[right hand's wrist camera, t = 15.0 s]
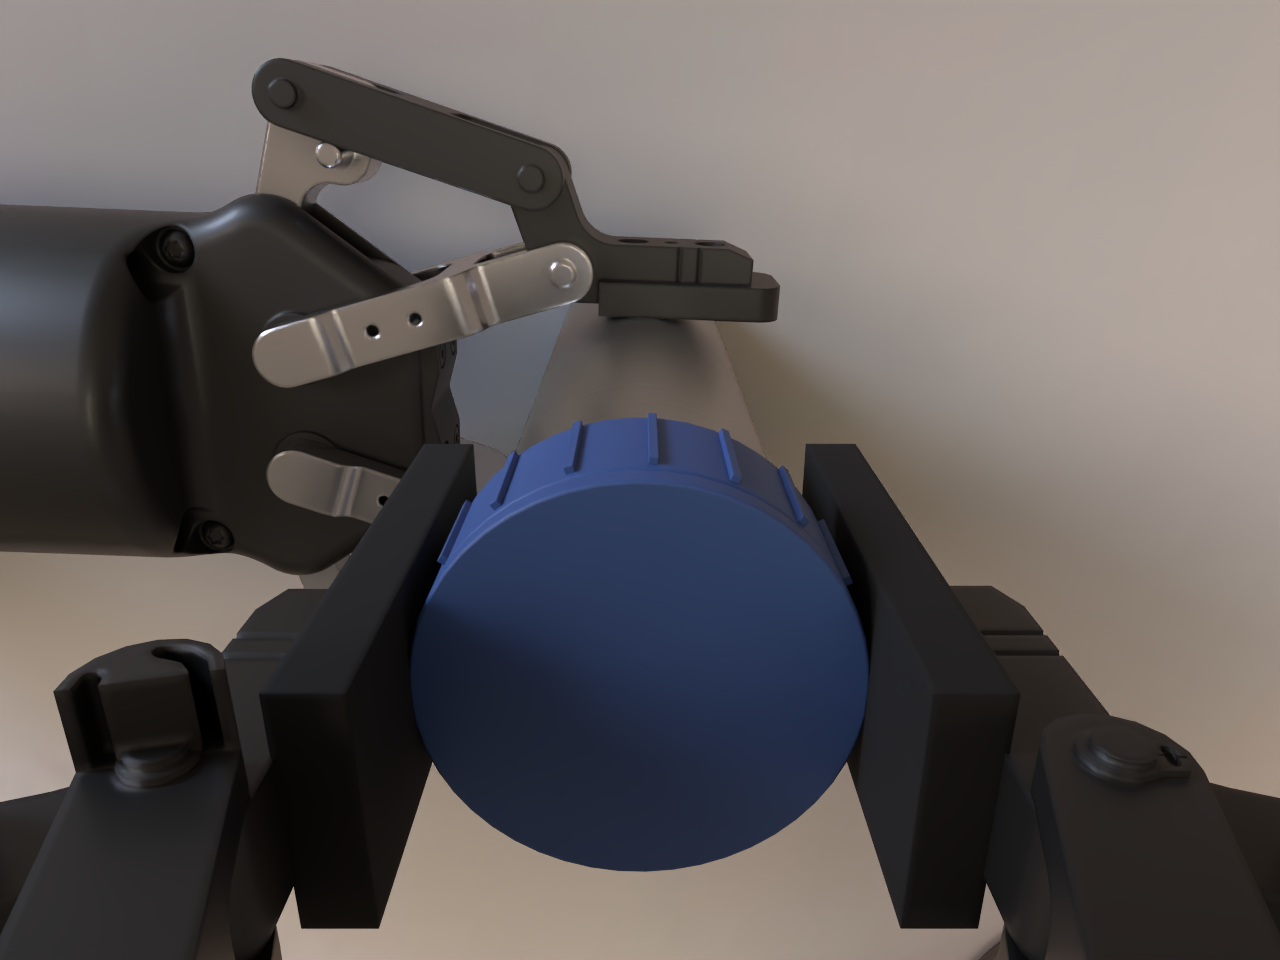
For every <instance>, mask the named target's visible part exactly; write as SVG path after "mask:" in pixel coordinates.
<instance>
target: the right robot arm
mask: <svg viewBox="0 0 1280 960" xmlns="http://www.w3.org/2000/svg"><path fill="white" fill-rule="evenodd" d="M476 496H477V486H476V472H475V458H474V444H424V445H423V447H422V448H421V450H420V451H419V453H418V454H417V456H416V457H415V459H414V460H413V462H412V463H411V465H410V466H409V468H408V469H407V471H406V472H405V474H404V475H403V477H402V478H401V480H400V481H399V483H398V484H397V486H396V487H395V489H394V490H393V492H392V493H391V495H390V496H389V498H388V499H387V501H386V502H385V504H384V505H383V507H382V508H381V510H380V512H379V513H378V515H377V516H376V518H375V519H374V521H373V522H372V524H371V525H370V527H369V528H368V530H367V531H366V533H365V534H364V536H363V537H362V539H361V540H360V542H359V543H358V545H357V546H356V548H355V549H354V551H353V552H352V554H351V555H350V557H349V558H348V560H347V561H346V563H345V564H344V566H343V567H342V569H341V570H340V572H339V573H338V575H337V576H336V578H335V579H334V581H333V582H332V584H331V585H330V587H329V588H328V589H288V590H286V591H284V592H283V593H281V594H280V595H278V596H276V597H275V598H273V599H272V600H270V601H269V602H267V603H265V604H264V605H262V606H261V607H259V608H258V609H256V610H255V611H254V612H253V614H252V615H251V616H250V618H249V619H248V620H247V621H246V623H245V624H244V625H243V627H242V628H241V629H240V630H239V632H238V633H237V638H236V639H232V641H231V642H230V643H229V644H228V646H227V647H226V648H225V650H224V651H223V652H222V653H221V652H220V651H218V650H217V649H216V648H214V647H213V646H212V645H211V644H208V643H204V642H199V641H194V640H190V639H169V640H155V641H150V642H145V643H141V644H136V645H131V646H126V647H123V648H121V649H118V650H116V651H113V652H110V653H108V654H105V655H103V656H100V657H97V658H95V659H93V660H92V661H90V662H88V663H87V664H85V665H83V666H82V667H80V668H79V669H77V670H75V671H74V672H72V673H70V674H69V675H68V676H67V677H66V678H65V679H64V681H63V682H62V683H61V684H60V685H59V686H58V687H57V688H56V689H55V690H54V691H53V692H54V696H55V699H56V703H57V706H58V710H59V713H60V717H61V721H62V724H63V728H64V731H65V735H66V738H67V742H68V746H69V749H70V753H71V756H72V760H73V763H74V767H75V771H76V774H75V776H74V778H73V780H72V782H71V784H70V787H67V788H63V789H60V790H56V791H52V792H48V793H43V794H38V795H33V796H28V797H23V798H19V799H14V800H9V801H4V802H0V960H282V956H281V949H280V942H279V937H278V932H277V927H276V924H277V922H278V919H279V917H280V915H281V913H282V911H283V908H284V906H285V904H286V902H287V899H288V897H289V895H290V893H291V891H292V888H293V886H294V890H295V896H296V901H297V907H298V912H299V918H300V923H301V929H379V926H380V923H381V920H382V917H383V914H384V911H385V908H386V905H387V901H388V898H389V895H390V892H391V889H392V886H393V883H394V880H395V877H396V873H397V870H398V867H399V864H400V861H401V858H402V855H403V852H404V849H405V846H406V842H407V839H408V836H409V833H410V830H411V827H412V824H413V821H414V818H415V815H416V811H417V808H418V805H419V802H420V799H421V796H422V793H423V790H424V787H425V783H426V780H427V777H428V774H429V771H430V768H431V765H432V762H433V761H432V759H431V757H430V756H429V754H428V752H427V750H426V749H425V746H424V743H423V741H422V738H421V736H420V733H419V730H418V728H417V725H416V721H415V716H414V708H413V700H412V690H411V681H410V653H411V645H412V641H413V637H414V633H415V629H416V625H417V619H418V617H419V615H420V612H421V610H422V608H423V606H424V603H425V601H426V599H427V597H428V594H429V592H430V590H431V588H432V585H433V583H434V581H435V579H436V576H437V574H438V572H439V570H440V567H441V565H442V564H441V563H439V562H438V561H437V560H438V558H439V556H440V554H441V552H442V550H443V547H444V545H445V543H446V541H447V539H448V536H449V534H450V532H451V530H452V528H453V526H454V523H455V521H456V519H457V517H458V515H459V513H460V510H461V508H462V506H463V504H464V503H465V501H466V500H468V501H470V502H471V503H472V502H473V501H474V499H475V497H476ZM802 496H803V498H804V499H805V501H806V502H807V504H808V505H809V506H810V508H811V509H812V511H813V513H814V515H815V517H816V519H817V521H820V520H822V519H824V521H825V523H826V525H827V527H828V529H829V531H830V533H831V536H832V538H833V540H834V542H835V544H836V546H837V549H838V551H839V553H840V555H841V557H842V559H843V562H844V564H845V566H846V568H847V570H848V572H849V575H850V577H851V579H852V581H853V583H852V584H850V585H847V588H848V590H849V592H850V595H851V597H852V599H853V601H854V604H855V606H856V608H857V611H858V614H859V617H860V620H861V623H862V626H863V629H864V632H865V635H866V641H867V647H868V653H869V660H870V671H869V685H868V694H867V703H866V712H865V717H864V720H863V724H862V727H861V730H860V733H859V737H858V739H857V741H856V743H855V745H854V748H853V750H852V752H851V754H850V756H849V758H848V760H847V763H848V766H849V770H850V773H851V776H852V779H853V782H854V785H855V788H856V791H857V794H858V797H859V801H860V804H861V807H862V810H863V813H864V816H865V819H866V822H867V825H868V829H869V832H870V835H871V838H872V841H873V844H874V847H875V850H876V853H877V856H878V860H879V863H880V866H881V869H882V872H883V875H884V878H885V881H886V884H887V888H888V891H889V894H890V897H891V900H892V903H893V906H894V909H895V912H896V916H897V919H898V922H899V925H900V928H901V929H978V926H979V920H980V915H981V909H982V904H983V898H984V893H985V887H986V883H987V885H988V887H989V889H990V892H991V894H992V896H993V898H994V900H995V903H996V905H997V907H998V909H999V911H1000V914H1001V916H1002V918H1003V920H1004V927H1003V932H1002V937H1001V942H999V943H998V944H997V945H995V946H994V947H993V948H991V949H990V950H989V951H988V952H987V953H986V954H985V955H984V956H982V957H981V958H980V959H979V960H1280V798H1276V797H1272V796H1267V795H1262V794H1257V793H1252V792H1247V791H1242V790H1237V789H1232V788H1228V787H1224V786H1220V785H1217V784H1213V783H1209V781H1208V778H1207V776H1206V774H1205V772H1204V770H1203V769H1202V768H1201V767H1200V765H1199V764H1198V763H1197V761H1196V760H1195V759H1194V758H1193V756H1192V755H1191V754H1190V752H1188V751H1187V750H1186V749H1184V748H1183V747H1181V746H1180V745H1179V744H1177V743H1176V742H1174V741H1173V740H1172V739H1170V738H1169V737H1167V736H1166V735H1164V734H1162V733H1160V732H1158V731H1155V730H1153V729H1151V728H1149V727H1146V726H1144V725H1142V724H1139V723H1137V722H1134V721H1130V720H1126V719H1122V718H1118V717H1113V716H1110V715H1109V713H1108V712H1107V711H1106V710H1105V708H1104V707H1103V706H1102V705H1101V703H1100V702H1099V701H1098V699H1097V698H1096V697H1095V696H1094V694H1093V693H1092V692H1091V691H1090V689H1089V688H1088V687H1087V686H1086V684H1085V683H1084V682H1083V680H1082V679H1081V678H1080V677H1079V675H1078V674H1077V673H1076V672H1075V670H1074V669H1073V668H1072V666H1071V665H1070V664H1069V663H1068V661H1067V660H1066V659H1065V658H1064V656H1059V650H1058V649H1057V647H1056V646H1055V645H1054V644H1053V642H1052V641H1051V640H1050V639H1049V637H1048V636H1047V635H1043V630H1042V628H1041V627H1040V626H1039V625H1038V623H1037V622H1036V621H1035V620H1034V618H1033V617H1032V616H1031V614H1030V613H1029V612H1028V611H1027V609H1026V608H1025V607H1024V606H1023V605H1021V604H1019V603H1018V602H1016V601H1015V600H1013V599H1011V598H1010V597H1008V596H1007V595H1005V594H1003V593H1002V592H1000V591H999V590H997V589H995V588H994V587H992V586H949V585H948V583H947V582H946V580H945V579H944V577H943V576H942V574H941V573H940V571H939V570H938V568H937V567H936V565H935V564H934V562H933V561H932V559H931V558H930V556H929V555H928V553H927V552H926V550H925V549H924V547H923V546H922V544H921V542H920V541H919V539H918V538H917V536H916V535H915V533H914V532H913V530H912V529H911V527H910V526H909V524H908V523H907V521H906V520H905V518H904V517H903V515H902V514H901V512H900V511H899V509H898V508H897V506H896V505H895V503H894V502H893V500H892V499H891V497H890V496H889V494H888V493H887V491H886V490H885V488H884V487H883V485H882V484H881V482H880V481H879V479H878V478H877V476H876V475H875V473H874V472H873V470H872V469H871V467H870V466H869V464H868V463H867V461H866V459H865V458H864V456H863V455H862V453H861V452H860V450H859V449H858V447H857V446H856V444H806V451H805V465H804V479H803V493H802Z"/></svg>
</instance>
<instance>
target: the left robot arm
mask: <svg viewBox="0 0 1280 960" xmlns="http://www.w3.org/2000/svg"><path fill="white" fill-rule="evenodd" d="M252 96H253V100H254V103H255V105H256V107H257V109H258V111H259V112H260V113H261V115H262V116H263V117H264V118H265V119H266V120H267V121H268V123H267V129H266V135H265V141H264V147H263V153H262V159H261V165H260V170H259V176H258V182H257V188H256V194H251V195H246V196H243V197H240V198H238V199H236V200H234V201H232V202H231V203H229V204H227V205H225V206H224V207H222V208H220V209H218V210H216V211H214V212H205V213H193V212H169V211H145V210H121V209H96V208H72V207H48V206H24V205H0V551H7V552H35V553H61V554H89V555H117V556H145V557H185V556H196V555H205V554H215V553H234V554H239V555H243V556H247V557H249V558H252V559H255V560H257V561H260V562H262V563H264V564H266V565H268V566H270V567H272V568H274V569H276V570H278V571H281V572H283V573H287V574H292V575H299V577H300V579H301V581H302V584H303V586H304V588H305V589H328V588H329V587H330V585H331V584H332V582H333V581H334V579H335V578H336V576H337V575H338V573H339V572H340V570H341V569H342V567H343V566H344V564H345V563H346V561H347V560H348V558H349V557H350V555H349V554H351V553H352V552H353V551H354V549H355V548H356V546H357V545H358V543H359V542H360V540H361V539H362V537H363V536H364V534H365V533H366V531H367V530H368V528H369V527H370V525H371V524H372V522H373V521H374V519H375V518H376V516H377V515H378V513H379V512H380V510H381V508H382V507H383V505H384V504H385V502H386V501H387V499H388V498H389V496H390V495H391V493H392V492H393V490H394V489H395V487H396V486H397V484H398V483H399V481H400V480H401V478H402V477H403V475H404V474H405V472H406V471H407V469H408V468H409V466H410V465H411V463H412V462H413V460H414V459H415V457H416V456H417V454H418V453H419V451H420V450H421V448H422V447H423V445H424V444H474V458H475V472H476V486H477V495H478V494H479V492H480V491H481V490H482V489H483V488H484V486H485V485H486V484H487V483H488V482H489V480H490V479H491V478H492V477H493V476H494V475H495V474H496V473H498V472H499V471H500V470H501V469H502V468H503V467H504V466H505V463H506V461H507V456H506V455H505V454H503V453H502V452H500V451H498V450H496V449H493V448H491V447H488V446H485V445H482V444H479V443H476V442H473V441H470V440H467V439H464V438H461V437H460V423H459V415H458V412H457V409H456V406H455V403H454V399H453V396H452V393H451V390H450V380H451V375H452V371H453V367H454V363H455V359H456V355H457V339H460V338H464V337H467V336H470V335H473V334H476V333H478V332H481V331H483V330H485V329H487V328H489V327H491V326H493V325H496V324H499V323H502V322H506V321H510V320H513V319H517V318H520V317H524V316H527V315H531V314H535V313H538V312H542V311H545V310H549V309H552V308H556V307H560V306H563V305H567V304H570V303H594V304H599V313H598V316H604V317H630V318H636V317H642V318H656V319H682V320H707V321H733V322H772V321H775V320H777V313H778V303H779V292H780V285H779V284H778V283H777V282H776V280H775V279H774V278H773V277H772V276H771V275H768V274H764V273H756V272H752V271H753V259H752V258H751V257H750V256H749V254H748V253H747V252H746V251H745V250H742V249H740V248H738V247H736V246H734V245H732V244H730V243H727V242H725V241H717V240H692V239H667V238H642V237H617V236H610V235H606V234H604V233H601V232H600V231H598V230H596V229H595V228H594V227H593V226H592V225H591V224H590V223H589V222H588V221H587V219H586V217H585V216H584V214H583V211H582V208H581V205H580V202H579V199H578V196H577V193H576V190H575V187H574V184H573V181H572V178H571V175H572V170H571V165H570V161H569V159H568V157H567V156H566V154H565V153H564V152H563V151H562V150H561V149H560V148H559V147H557V146H555V145H553V144H551V143H548V142H545V141H542V140H539V139H536V138H533V137H531V136H528V135H525V134H522V133H519V132H516V131H513V130H511V129H508V128H505V127H502V126H499V125H496V124H493V123H490V122H488V121H485V120H482V119H479V118H476V117H473V116H470V115H468V114H465V113H462V112H459V111H456V110H453V109H450V108H447V107H445V106H442V105H439V104H436V103H433V102H430V101H427V100H424V99H422V98H419V97H416V96H413V95H410V94H407V93H404V92H402V91H399V90H396V89H393V88H390V87H387V86H384V85H381V84H379V83H376V82H373V81H370V80H367V79H364V78H361V77H358V76H356V75H353V74H350V73H347V72H344V71H341V70H338V69H336V68H333V67H329V66H324V65H319V64H314V63H309V62H303V61H297V60H290V59H283V58H277V59H272V60H269V61H267V62H265V63H264V64H262V65H261V66H260V67H259V68H258V70H257V71H256V73H255V75H254V78H253V81H252ZM381 162H384V163H387V164H390V165H393V166H396V167H399V168H402V169H405V170H408V171H411V172H414V173H417V174H420V175H422V176H425V177H428V178H431V179H434V180H437V181H440V182H443V183H446V184H449V185H452V186H455V187H458V188H461V189H464V190H467V191H470V192H473V193H476V194H479V195H482V196H484V197H487V198H490V199H493V200H496V201H499V202H502V203H505V204H508V205H511V208H512V210H513V213H514V216H515V219H516V222H517V224H518V227H519V230H520V233H521V236H522V238H523V241H524V242H521V243H518V244H514V245H511V246H507V247H504V248H500V249H497V250H493V251H485V252H480V253H476V254H473V255H469V256H466V257H462V258H459V259H455V260H452V261H448V262H445V263H441V264H438V265H434V266H431V267H427V268H424V269H421V270H417V271H414V272H409V271H407V270H406V269H405V268H403V267H402V266H400V265H399V264H398V263H396V262H395V261H394V260H392V259H391V258H390V257H388V256H387V255H386V254H384V253H383V252H382V251H380V250H379V249H378V248H376V247H375V246H374V245H372V244H371V243H370V242H368V241H367V240H365V239H364V238H363V237H361V236H360V235H359V234H357V233H356V232H355V231H353V230H352V229H351V228H349V227H348V226H347V225H345V224H344V223H343V222H341V221H340V220H339V219H337V218H336V217H334V216H333V215H332V214H330V213H329V212H328V211H326V210H325V209H324V208H322V207H321V206H320V205H318V204H317V203H316V199H317V196H318V194H319V192H320V191H321V190H322V189H323V188H324V187H325V186H326V185H328V184H329V183H331V184H337V185H350V184H354V183H359V182H364V181H366V180H368V179H370V178H372V177H373V176H374V175H375V174H376V173H377V171H378V170H379V168H380V166H381Z"/></svg>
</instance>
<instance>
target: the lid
mask: <svg viewBox="0 0 1280 960" xmlns="http://www.w3.org/2000/svg"><path fill="white" fill-rule="evenodd" d="M437 561H438V562H439V563H441V564H442V565H441V567H440V570H439V572H438V574H437V576H436V579H435V581H434V583H433V585H432V588H431V590H430V592H429V594H428V597H427V599H426V601H425V603H424V606H423V608H422V610H421V612H420V615H419V617H418V619H417V625H416V629H415V633H414V637H413V641H412V645H411V653H410V681H411V690H412V700H413V708H414V716H415V721H416V725H417V728H418V730H419V733H420V736H421V738H422V741H423V743H424V746H425V749H426V750H427V752H428V754H429V756H430V757H431V759H432V761H433V763H434V765H435V766H436V768H437V770H438V772H439V773H440V774H441V776H442V777H443V778H444V780H445V781H446V782H447V784H448V785H449V786H450V788H451V789H452V790H453V791H454V793H455V794H456V795H457V796H458V797H459V798H460V799H461V800H462V801H463V802H464V803H465V804H466V805H467V806H468V807H469V808H470V809H471V810H472V811H473V812H475V813H476V814H477V815H478V816H480V817H481V818H482V819H483V820H485V821H486V822H487V823H489V824H490V825H491V826H492V827H494V828H496V829H497V830H499V831H500V832H502V833H504V834H505V835H507V836H508V837H510V838H512V839H513V840H515V841H517V842H519V843H521V844H523V845H525V846H527V847H529V848H532V849H534V850H536V851H538V852H540V853H543V854H546V855H549V856H552V857H555V858H557V859H560V860H563V861H567V862H571V863H575V864H580V865H584V866H588V867H593V868H601V869H608V870H616V871H644V872H646V871H660V870H673V869H679V868H685V867H690V866H696V865H701V864H704V863H708V862H711V861H715V860H718V859H722V858H725V857H728V856H731V855H733V854H735V853H738V852H740V851H743V850H745V849H748V848H750V847H752V846H754V845H756V844H758V843H760V842H762V841H763V840H765V839H767V838H769V837H771V836H773V835H775V834H776V833H778V832H779V831H780V830H782V829H783V828H785V827H786V826H788V825H789V824H790V823H792V822H793V821H795V820H796V819H797V818H798V817H800V816H801V815H802V814H803V813H804V812H805V811H806V810H807V809H809V808H810V807H811V806H812V805H813V804H814V803H815V802H816V801H817V800H818V799H819V798H820V797H821V796H822V794H823V793H824V792H825V791H826V790H827V789H828V787H829V786H830V785H831V784H832V783H833V782H834V780H835V779H836V777H837V775H838V774H839V772H840V771H841V769H842V768H843V766H844V765H845V763H846V762H847V760H848V758H849V756H850V754H851V752H852V750H853V748H854V745H855V743H856V741H857V739H858V737H859V733H860V730H861V727H862V724H863V720H864V717H865V712H866V703H867V694H868V685H869V671H870V660H869V653H868V647H867V641H866V635H865V632H864V629H863V626H862V623H861V620H860V617H859V614H858V611H857V608H856V606H855V604H854V601H853V599H852V597H851V595H850V592H849V590H848V588H847V585H850V584H852V583H853V581H852V579H851V577H850V575H849V572H848V570H847V568H846V566H845V564H844V562H843V559H842V557H841V555H840V553H839V551H838V549H837V546H836V544H835V542H834V540H833V538H832V536H831V533H830V531H829V529H828V527H827V525H826V523H825V521H824V519H822V520H820V521H817V519H816V517H815V515H814V513H813V511H812V509H811V508H810V506H809V505H808V504H807V502H806V501H805V499H804V498H803V496H802V495H801V494H800V492H799V491H798V489H797V488H796V487H795V486H794V483H793V481H792V479H791V476H790V474H789V472H788V470H787V469H786V468H785V467H784V466H781V467H780V468H779V469H778V468H776V467H775V466H774V465H773V464H771V463H770V462H769V461H768V460H766V459H765V458H764V457H763V456H761V455H760V454H759V453H757V452H755V451H754V450H752V449H750V448H749V447H747V446H745V445H744V444H742V443H740V442H739V441H737V440H735V439H732V438H731V437H730V434H729V431H727V430H725V429H723V428H721V429H720V431H719V432H716V431H714V430H711V429H708V428H704V427H701V426H697V425H694V424H691V423H687V422H680V421H674V420H668V419H662V418H657V414H656V413H648V417H647V418H637V417H632V418H621V419H610V420H603V421H599V422H594V423H590V424H585V425H583V423H582V421H581V420H580V421H577V422H574V423H573V426H572V429H569V430H566V431H563V432H561V433H558V434H555V435H553V436H551V437H549V438H547V439H545V440H543V441H541V442H539V443H537V444H535V445H533V446H531V447H530V448H528V449H527V450H525V451H524V452H523V453H521V454H520V455H518V454H517V453H516V451H514V452H513V453H511V454H510V455H509V456H508V458H507V461H506V463H505V466H504V467H503V468H502V469H501V470H500V471H499V472H498V473H496V474H495V475H494V476H493V477H492V478H491V479H490V480H489V482H488V483H487V484H486V485H485V486H484V488H483V489H482V490H481V491H480V492H479V494H478V495H477V496H476V497H475V499H474V501H473V502H472V503H471V502H470V501H468V500H466V501H465V503H464V504H463V506H462V508H461V510H460V513H459V515H458V517H457V519H456V521H455V523H454V526H453V528H452V530H451V532H450V534H449V536H448V539H447V541H446V543H445V545H444V547H443V550H442V552H441V554H440V556H439V558H438V560H437Z"/></svg>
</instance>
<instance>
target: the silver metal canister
mask: <svg viewBox="0 0 1280 960" xmlns="http://www.w3.org/2000/svg"><path fill="white" fill-rule="evenodd" d="M598 313H599V304H594V303H572V304H571V306H570V308H569V310H568V312H567V315H566V318H565V320H564V323H563V326H562V328H561V331H560V334H559V336H558V339H557V342H556V344H555V347H554V350H553V353H552V355H551V358H550V361H549V363H548V366H547V369H546V371H545V374H544V377H543V379H542V382H541V385H540V387H539V390H538V393H537V395H536V398H535V401H534V403H533V406H532V409H531V411H530V414H529V417H528V419H527V422H526V425H525V427H524V430H523V433H522V435H521V438H520V441H519V443H518V446H517V449H516V453H517V454H518V455H520V454H521V453H523V452H524V451H525V450H527V449H528V448H530V447H531V446H533V445H535V444H537V443H539V442H541V441H543V440H545V439H547V438H549V437H551V436H553V435H555V434H558V433H561V432H563V431H566V430H569V429H572V426H573V423H574V422H577V421H580V420H581V421H582V423H583V425H585V424H590V423H594V422H599V421H603V420H610V419H621V418H632V417H637V418H647V417H648V413H656V414H657V418H662V419H668V420H674V421H680V422H687V423H691V424H694V425H697V426H701V427H704V428H708V429H711V430H714V431H716V432H719V431H720V429H721V428H723V429H725V430H727V431H729V434H730V437H731V438H732V439H735V440H737V441H739V442H740V443H742V444H744V445H745V446H747V447H749V448H750V449H752V450H754V451H755V452H757V453H759V454H760V455H761V456H763V457H764V458H765V459H766V457H765V454H764V451H763V449H762V446H761V443H760V441H759V438H758V435H757V433H756V430H755V427H754V425H753V422H752V419H751V417H750V414H749V411H748V409H747V406H746V403H745V401H744V398H743V395H742V393H741V390H740V387H739V385H738V382H737V379H736V377H735V374H734V371H733V369H732V366H731V363H730V361H729V358H728V355H727V353H726V350H725V347H724V344H723V342H722V339H721V336H720V334H719V331H718V328H717V326H716V323H715V321H707V320H682V319H656V318H642V317H636V318H630V317H604V316H598ZM766 460H767V459H766Z"/></svg>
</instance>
